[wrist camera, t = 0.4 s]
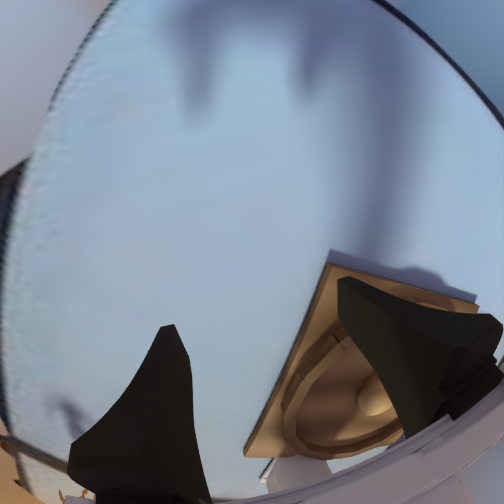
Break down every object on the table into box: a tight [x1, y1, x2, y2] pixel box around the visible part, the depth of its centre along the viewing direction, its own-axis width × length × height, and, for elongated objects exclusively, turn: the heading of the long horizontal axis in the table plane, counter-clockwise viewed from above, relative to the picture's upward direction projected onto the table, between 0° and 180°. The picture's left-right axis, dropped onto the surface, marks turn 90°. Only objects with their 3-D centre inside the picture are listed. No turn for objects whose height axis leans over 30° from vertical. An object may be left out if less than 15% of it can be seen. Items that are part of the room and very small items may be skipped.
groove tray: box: [243, 263, 480, 460], centre depth 28 cm, size 25×25×2 cm
